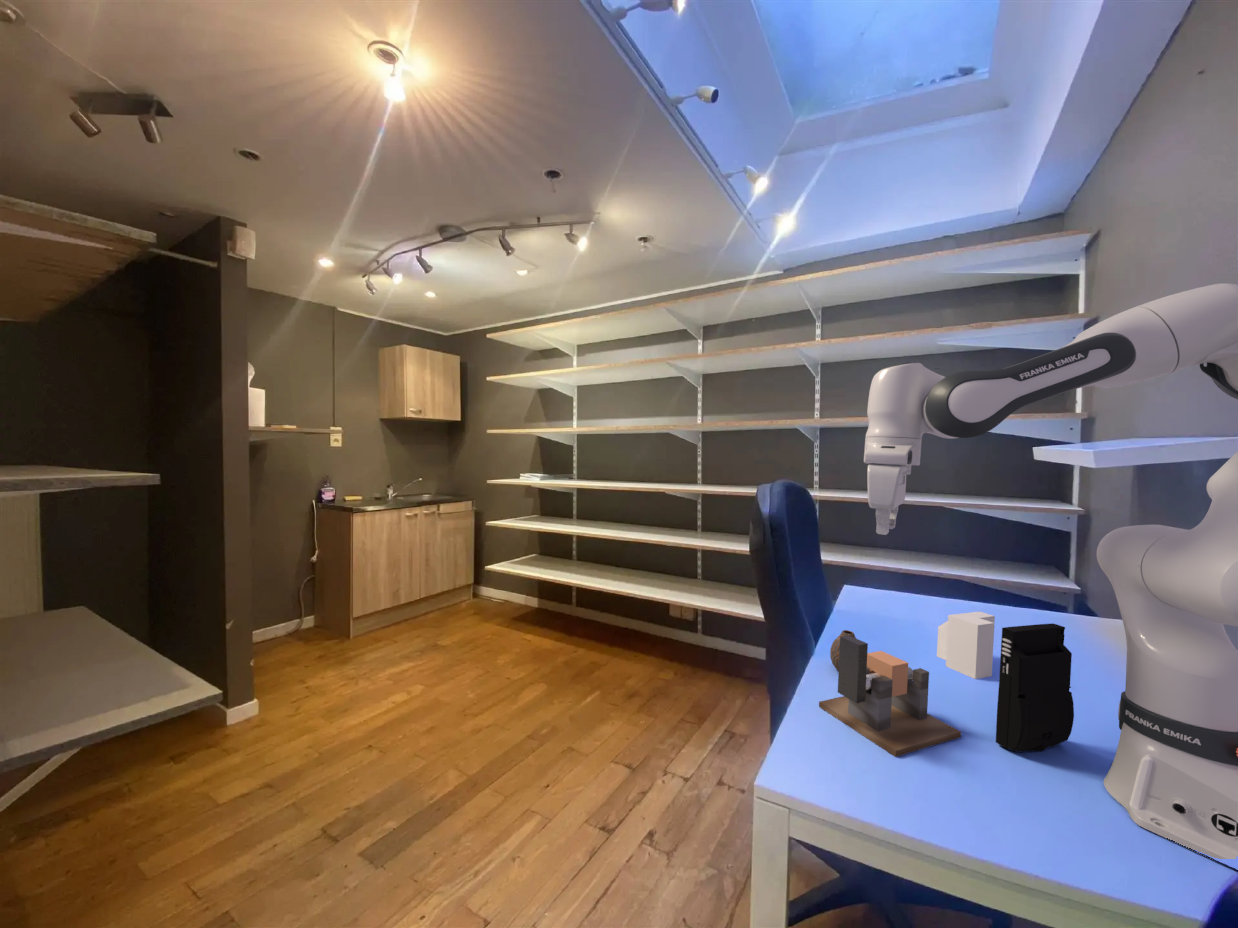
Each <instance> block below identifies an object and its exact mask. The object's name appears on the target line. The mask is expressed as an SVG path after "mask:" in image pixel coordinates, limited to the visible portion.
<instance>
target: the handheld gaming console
mask: <svg viewBox="0 0 1238 928" xmlns="http://www.w3.org/2000/svg"><path fill="white" fill-rule="evenodd" d="M1065 630H1066V627H1065V626H1063V625H1060V624H1057V623H1040V624H1038V623H1037V624H1029V625H1027V624H1025V625H1017V626H1006V627H1002V628H1001V644H1000V658H999V659H1000V661H999V663H1000V664H999V677H998V678H999V679H998V695H997V704H996V705H997V709H996V724H995V725H996V726H995V743H996V744H997V745H999V746H1001V747H1003V748H1005V749H1008V750H1010V751H1012V752H1016V753H1017V752H1020V753H1022V752H1043V751H1045V750H1047V749H1048V748H1049V747H1051V748H1053V747H1055V746H1057V745H1060V744H1062V743H1064V742H1067V741H1068V740H1069V738H1070V736H1071V734H1072V730H1073V726H1074V719H1075V711H1074V709H1075V708H1074V699H1073V694H1072V693H1073V692H1072V691H1070V689H1071V688H1072V686H1071V676H1072V675H1071V674H1072V655H1073V654H1072V652H1071V651H1070V650H1069V648H1068V647H1067V646H1066V645H1065V644H1064V643H1065Z"/></svg>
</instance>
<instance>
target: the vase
mask: <svg viewBox="0 0 1238 928" xmlns="http://www.w3.org/2000/svg"><path fill="white" fill-rule="evenodd" d="M846 635H849V636H852V637H854V638H856V639H857V637H856V635H855V633H854V632H853V631H851V630H846V629H844V630H842V631H841V632H840V633H839V635H838V636H837V637H836V638H835V639H834V640H833V641H832V644H831V646H830V651H829V653H830V654H829V655H830V660H831V664H832V665H833V668H834V669H835V670H837V671H838V672H839V651H840V636H846Z"/></svg>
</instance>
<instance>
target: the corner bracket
mask: <svg viewBox="0 0 1238 928" xmlns="http://www.w3.org/2000/svg"><path fill="white" fill-rule="evenodd" d="M995 621H996V616H995V615H992V614H989V613H985V612H983V611H973V612H963V613H954V614H948V615H947V620H946V621H945V622H943V623H942V624H940V625H938V627H937V643H936V645H937V646H936V657H937V658H940V659H942V660H944V661H945V667H947V668H949V669H951V670H952V671H956V672H957V673H960V674H961V675H965V676H967V677H970V678H972V679H973V680H978V679H984V678H988V677H989V678H990V677H992V676H993V662H994V661H993V659H994V658H993V657H994V642H995V641H994V640H995Z"/></svg>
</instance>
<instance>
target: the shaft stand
mask: <svg viewBox="0 0 1238 928" xmlns="http://www.w3.org/2000/svg"><path fill="white" fill-rule="evenodd" d="M912 670H913V680H911V681H907V694H903V695H898V696H894V697H892V682H893V680H892V679H890V678H888V677H886V676H880V677H875V678H872V689H870V690H866V694H865V702H861V703H855V702H853V701H852V700H850V699H848V698H846V697H845V696H843V695H842V696H839V697H834V698H830V699H824V700H821V701H819V702H818V707H819V708H820V709H821V710H823V711H824V712H826V713H827V714H830V715H831V716H832V717H834V718H835V719H837V720H839V721H840V722H842V723H843V724H844V725H846V726H847V727H849V728H851V729H852V730H854V731H856V732H857V733H858V734H860V735H861V736H863V737H865V738H866V740H869V741H870V742H872V743H873V744H875V745H877V746H878V747H880V748H881V749H882V750H884V751H886V752H887V753H889V754H890V755H892V756H894V757H895V758H896V757H899V756H903V755H907V754H909V753H913V752H914V753H915V752H916V751H917V752H918V751H919V750H923V749H926V748H929V747H932V746H937V745H939V744H943V743H946V742H949V741H953V740H956V739H961V738H962V731H961V730H959V729H957V728H956V727H953V726H951V725H950V724H948V723H946V722H944V721H942V720H940V719H939V718H937V717H934V716H932V715H931V714H929V713H928V706H929V705H928V704H929V702H928V699H929V683H930V681H929V680H930V678H929V677H930V671H928V670H925V669H923V668H921V667H918V668H916V669H915V668H914V669H912ZM869 672H870V668H868V667H867V672H866V675H867V674H869Z"/></svg>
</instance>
